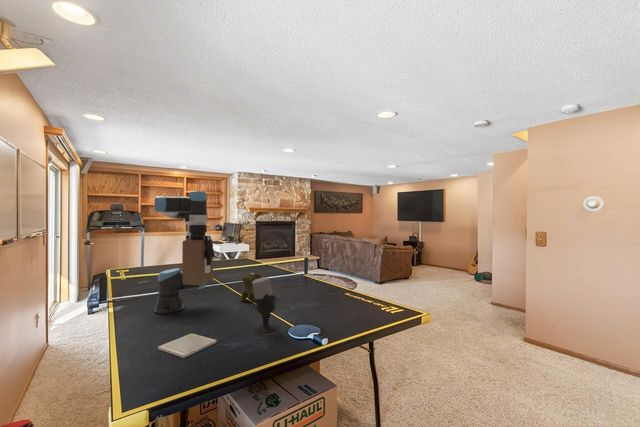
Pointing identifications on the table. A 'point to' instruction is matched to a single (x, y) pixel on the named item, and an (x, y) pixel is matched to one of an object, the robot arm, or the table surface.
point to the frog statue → (249, 285)
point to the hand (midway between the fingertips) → (198, 271)
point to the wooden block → (195, 263)
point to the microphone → (264, 306)
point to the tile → (187, 345)
